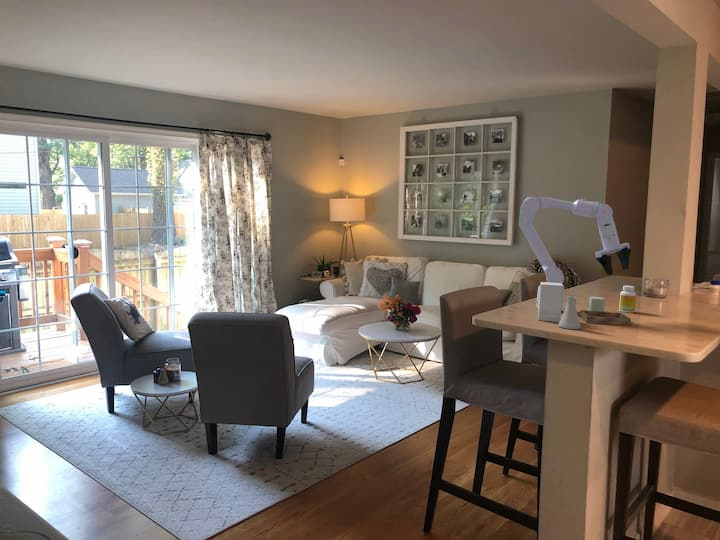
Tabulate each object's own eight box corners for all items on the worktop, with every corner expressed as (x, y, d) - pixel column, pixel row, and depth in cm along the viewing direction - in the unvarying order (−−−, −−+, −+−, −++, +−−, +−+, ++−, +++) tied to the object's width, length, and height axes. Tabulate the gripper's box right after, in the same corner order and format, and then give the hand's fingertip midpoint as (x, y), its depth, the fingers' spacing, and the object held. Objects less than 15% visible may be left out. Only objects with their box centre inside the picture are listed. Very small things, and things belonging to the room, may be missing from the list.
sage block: (590, 314, 208) (592, 298, 208) (588, 312, 213) (589, 296, 212) (603, 315, 208) (604, 299, 207) (600, 313, 212) (602, 297, 211)
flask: (578, 331, 180) (581, 300, 179) (555, 327, 184) (557, 297, 183) (583, 327, 186) (585, 297, 185) (560, 323, 190) (562, 294, 189)
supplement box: (560, 322, 192) (563, 285, 191) (537, 320, 194) (540, 284, 193) (559, 318, 199) (562, 282, 198) (537, 316, 201) (540, 281, 200)
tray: (586, 323, 193) (586, 316, 193) (579, 316, 204) (580, 310, 204) (630, 325, 190) (631, 319, 190) (620, 318, 202) (621, 312, 202)
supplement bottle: (636, 313, 213) (638, 287, 212) (620, 312, 214) (623, 286, 213) (632, 310, 219) (634, 285, 217) (617, 309, 220) (619, 284, 218)
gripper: (602, 239, 201) (611, 276, 201) (632, 230, 206) (641, 266, 206) (587, 241, 207) (596, 277, 208) (617, 232, 212) (626, 267, 213)
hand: (618, 271), depth 207 cm, fingers open, 7 cm apart
